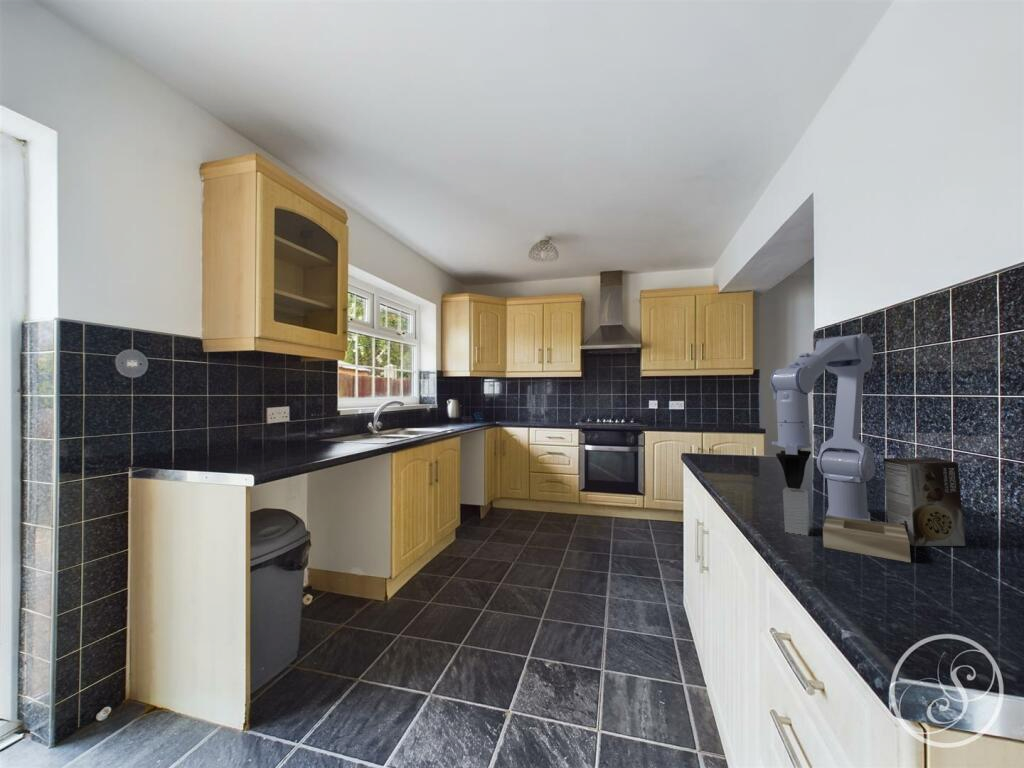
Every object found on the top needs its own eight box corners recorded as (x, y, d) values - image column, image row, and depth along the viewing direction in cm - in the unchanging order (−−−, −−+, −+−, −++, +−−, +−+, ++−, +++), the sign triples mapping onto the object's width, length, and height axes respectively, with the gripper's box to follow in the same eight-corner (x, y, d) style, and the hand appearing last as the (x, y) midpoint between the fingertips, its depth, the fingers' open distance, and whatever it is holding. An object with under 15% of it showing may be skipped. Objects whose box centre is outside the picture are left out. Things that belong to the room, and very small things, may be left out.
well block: (827, 531, 87) (826, 514, 87) (905, 543, 79) (904, 525, 79) (823, 547, 78) (822, 528, 78) (910, 562, 70) (909, 542, 70)
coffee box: (934, 535, 83) (929, 457, 83) (966, 547, 76) (960, 461, 77) (886, 535, 84) (881, 457, 84) (914, 546, 77) (908, 462, 78)
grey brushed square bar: (787, 527, 90) (785, 487, 90) (809, 531, 87) (807, 489, 88) (784, 532, 87) (782, 490, 87) (807, 536, 84) (805, 492, 85)
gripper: (774, 421, 96) (776, 478, 95) (767, 422, 85) (769, 488, 84) (811, 422, 92) (813, 482, 91) (808, 423, 80) (811, 492, 80)
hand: (795, 485), depth 87 cm, fingers open, 7 cm apart
